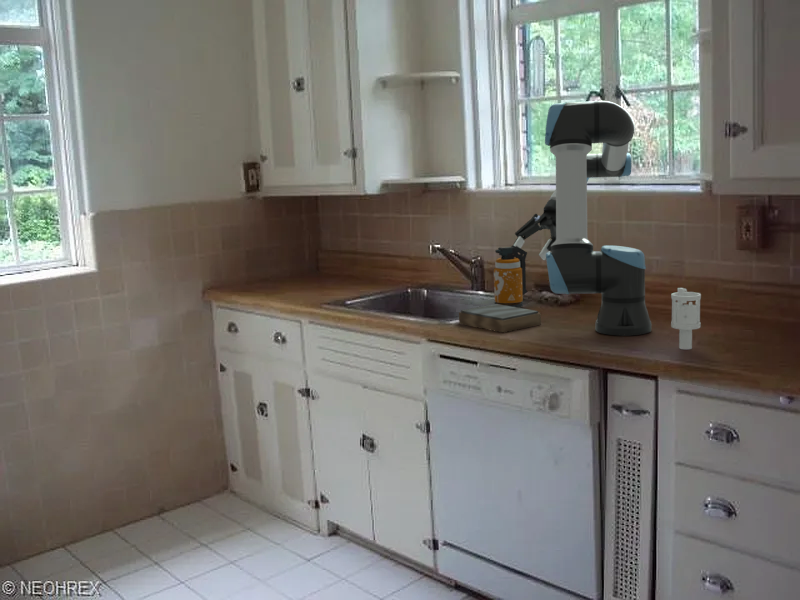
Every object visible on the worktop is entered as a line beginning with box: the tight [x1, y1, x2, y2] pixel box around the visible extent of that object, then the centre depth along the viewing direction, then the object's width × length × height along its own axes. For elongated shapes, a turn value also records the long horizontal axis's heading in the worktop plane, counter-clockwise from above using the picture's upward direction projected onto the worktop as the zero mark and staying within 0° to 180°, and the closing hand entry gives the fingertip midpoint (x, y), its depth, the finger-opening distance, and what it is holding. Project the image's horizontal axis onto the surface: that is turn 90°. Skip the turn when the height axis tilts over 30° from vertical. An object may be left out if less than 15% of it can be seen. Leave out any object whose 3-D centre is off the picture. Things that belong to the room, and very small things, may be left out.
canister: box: [493, 245, 528, 308], centre depth 296 cm, size 9×11×20 cm
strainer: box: [670, 287, 702, 351], centre depth 233 cm, size 7×7×15 cm
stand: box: [458, 303, 542, 333], centre depth 273 cm, size 19×15×4 cm
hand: (526, 256), depth 300 cm, fingers open, 13 cm apart
